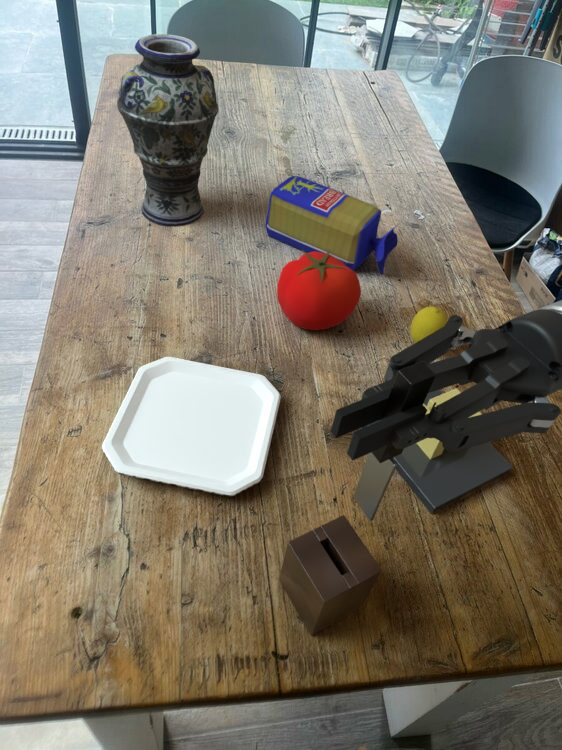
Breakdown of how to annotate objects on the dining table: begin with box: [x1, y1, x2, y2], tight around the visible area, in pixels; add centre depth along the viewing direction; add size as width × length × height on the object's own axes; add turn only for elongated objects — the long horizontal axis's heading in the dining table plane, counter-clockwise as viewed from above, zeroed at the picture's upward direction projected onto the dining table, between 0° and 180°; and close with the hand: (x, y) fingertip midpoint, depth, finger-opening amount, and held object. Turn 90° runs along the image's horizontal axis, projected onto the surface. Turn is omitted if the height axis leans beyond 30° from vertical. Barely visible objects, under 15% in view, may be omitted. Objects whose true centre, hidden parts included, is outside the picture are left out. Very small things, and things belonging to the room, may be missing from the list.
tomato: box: [276, 249, 362, 331], centre depth 93 cm, size 12×13×12 cm
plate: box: [101, 356, 282, 497], centre depth 78 cm, size 21×21×2 cm
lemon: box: [409, 306, 448, 344], centre depth 92 cm, size 6×6×8 cm
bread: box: [264, 175, 400, 275], centre depth 108 cm, size 10×25×10 cm, turn 59°
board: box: [361, 389, 514, 515], centre depth 81 cm, size 18×14×2 cm
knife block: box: [278, 514, 383, 637], centre depth 62 cm, size 7×7×9 cm
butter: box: [427, 388, 482, 418], centre depth 80 cm, size 6×5×4 cm
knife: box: [352, 361, 436, 522], centre depth 50 cm, size 3×2×20 cm
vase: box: [116, 33, 219, 227], centre depth 104 cm, size 17×17×30 cm
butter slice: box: [417, 404, 444, 459], centre depth 78 cm, size 6×2×4 cm, turn 30°
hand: (344, 435), depth 44 cm, fingers closed on knife, 2 cm apart
